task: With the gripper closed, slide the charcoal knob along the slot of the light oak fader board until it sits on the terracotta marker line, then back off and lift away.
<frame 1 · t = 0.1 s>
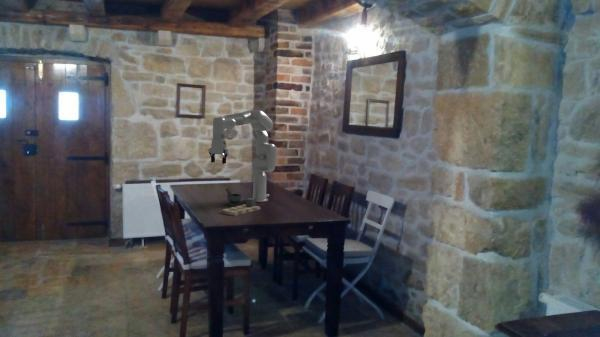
hand: (218, 163, 315), 31 cm above the table, tool pointing down, fingers open, 9 cm apart
fader board: (241, 211, 317), on the table
mortar and pestle: (233, 205, 338), on the table
fader knob: (250, 202, 325), point 5 cm above the table, slide at 0.0 cm
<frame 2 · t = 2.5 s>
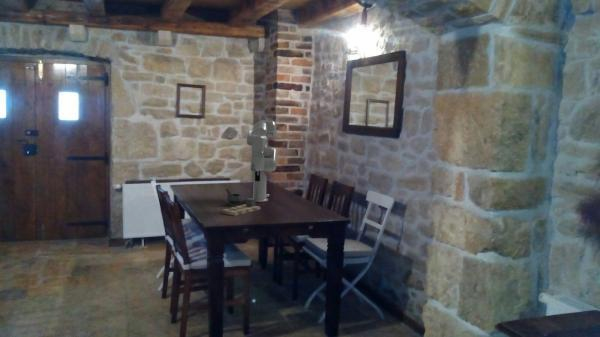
hand: (257, 181, 329), 18 cm above the table, tool pointing down, fingers closed
nothing on the table moved.
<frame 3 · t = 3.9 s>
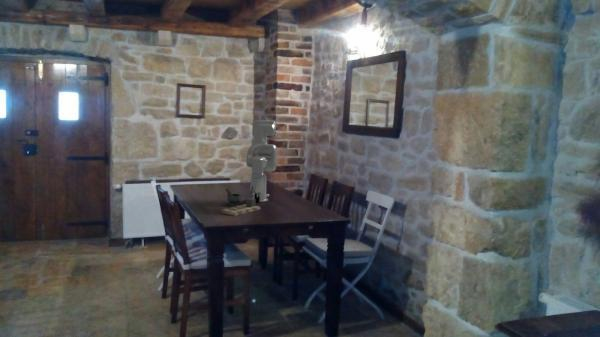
hand: (257, 202, 331), 3 cm above the table, tool pointing down, fingers closed
nothing on the table moved.
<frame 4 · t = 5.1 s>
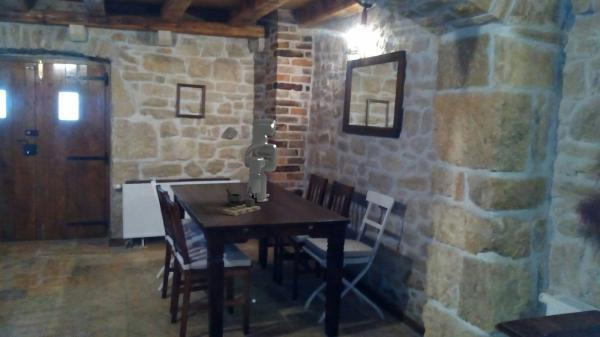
hand: (254, 203, 328), 3 cm above the table, tool pointing down, fingers closed
fader knob: (250, 202, 325), point 5 cm above the table, slide at 0.6 cm, touching gripper
everything else where it was.
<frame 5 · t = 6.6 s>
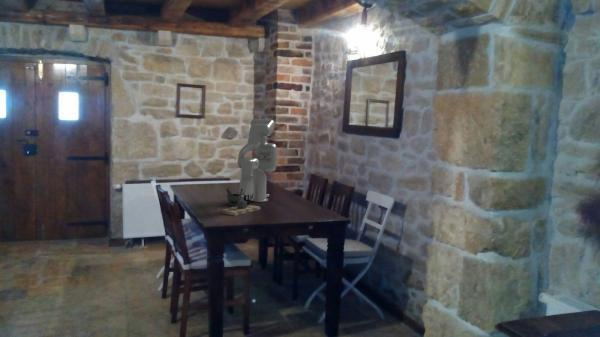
hand: (246, 205, 321), 3 cm above the table, tool pointing down, fingers closed
fader knob: (242, 204, 318), point 5 cm above the table, slide at 9.0 cm, touching gripper
everything else where it was.
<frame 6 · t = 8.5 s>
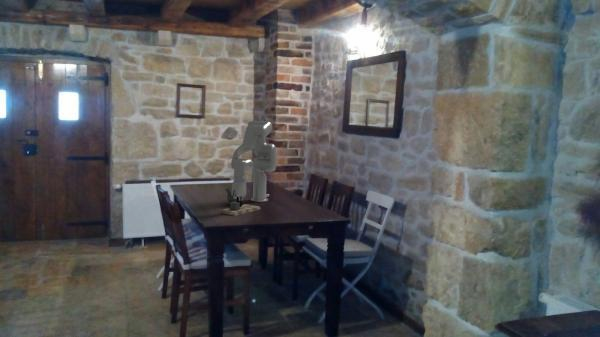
hand: (239, 206, 315), 3 cm above the table, tool pointing down, fingers closed
fader knob: (234, 205, 311), point 5 cm above the table, slide at 16.4 cm, touching gripper
everything else where it was.
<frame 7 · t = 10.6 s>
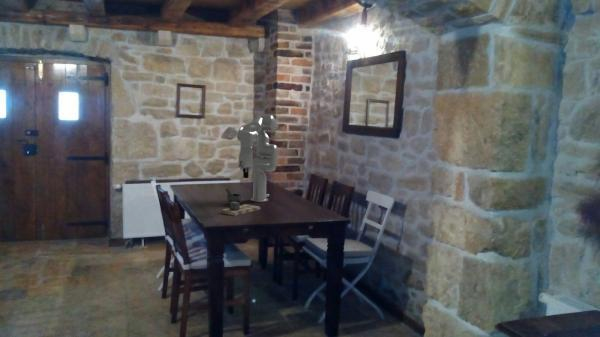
hand: (245, 177, 320), 21 cm above the table, tool pointing down, fingers closed
fader knob: (234, 205, 311), point 5 cm above the table, slide at 16.5 cm
everything else where it was.
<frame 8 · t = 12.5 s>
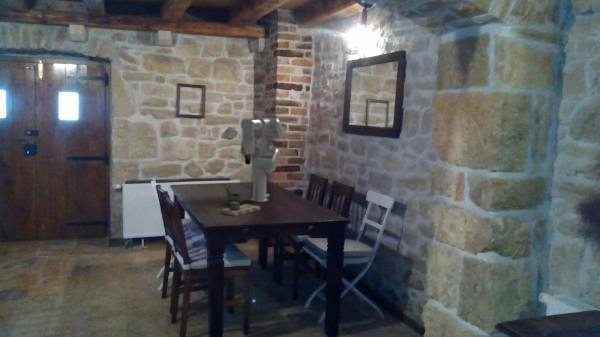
hand: (247, 164, 331), 29 cm above the table, tool pointing down, fingers closed
nothing on the table moved.
at the end: fader knob slide at 16.5 cm; mortar and pestle moved 0.2 cm from its start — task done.
